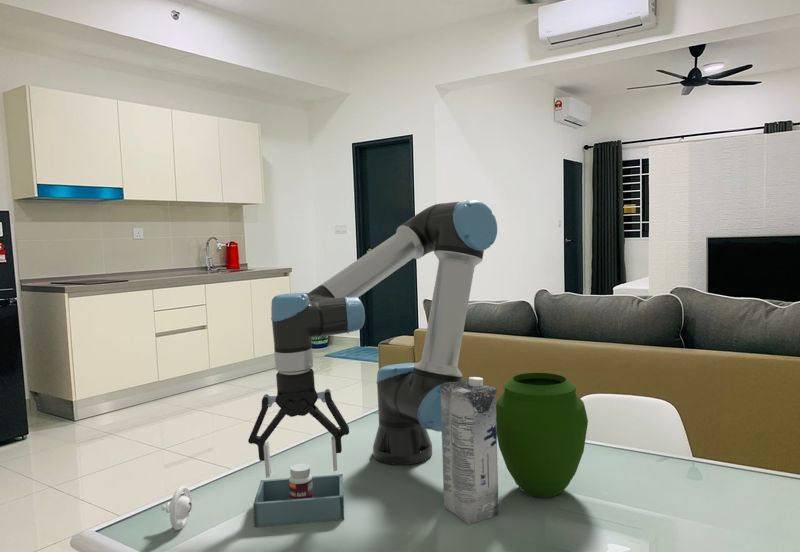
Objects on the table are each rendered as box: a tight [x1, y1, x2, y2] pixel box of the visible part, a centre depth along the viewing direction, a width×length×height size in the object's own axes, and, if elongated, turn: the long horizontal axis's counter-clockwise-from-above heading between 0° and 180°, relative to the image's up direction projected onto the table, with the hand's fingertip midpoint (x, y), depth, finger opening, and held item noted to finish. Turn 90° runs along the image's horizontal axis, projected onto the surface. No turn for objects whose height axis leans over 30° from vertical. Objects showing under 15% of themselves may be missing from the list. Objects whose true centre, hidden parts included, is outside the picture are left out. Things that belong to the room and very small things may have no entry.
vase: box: [496, 372, 589, 499], centre depth 125 cm, size 20×20×24 cm
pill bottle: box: [289, 463, 313, 500], centre depth 121 cm, size 5×5×8 cm
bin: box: [252, 473, 345, 528], centre depth 121 cm, size 17×11×5 cm, turn 96°
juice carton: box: [440, 376, 499, 525], centre depth 117 cm, size 9×10×27 cm
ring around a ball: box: [161, 485, 193, 531], centre depth 115 cm, size 8×6×8 cm
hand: (302, 471), depth 121 cm, fingers open, 13 cm apart
